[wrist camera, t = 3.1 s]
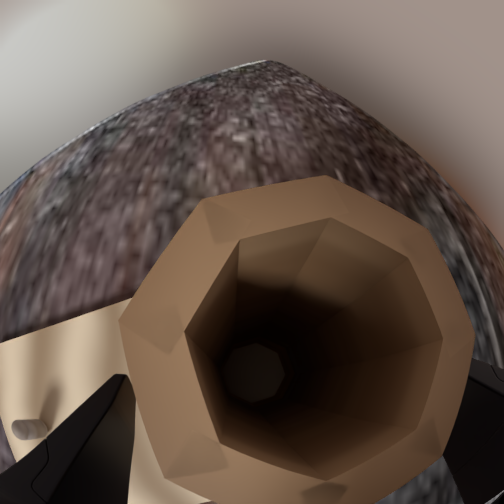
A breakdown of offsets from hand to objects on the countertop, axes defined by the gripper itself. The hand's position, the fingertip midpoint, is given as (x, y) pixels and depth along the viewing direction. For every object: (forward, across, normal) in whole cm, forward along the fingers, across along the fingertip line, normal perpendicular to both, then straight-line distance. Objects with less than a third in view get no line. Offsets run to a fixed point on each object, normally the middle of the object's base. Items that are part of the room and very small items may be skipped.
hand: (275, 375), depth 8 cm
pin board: (+5, +8, +8) cm, 12 cm away
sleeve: (+6, 0, +5) cm, 8 cm away
